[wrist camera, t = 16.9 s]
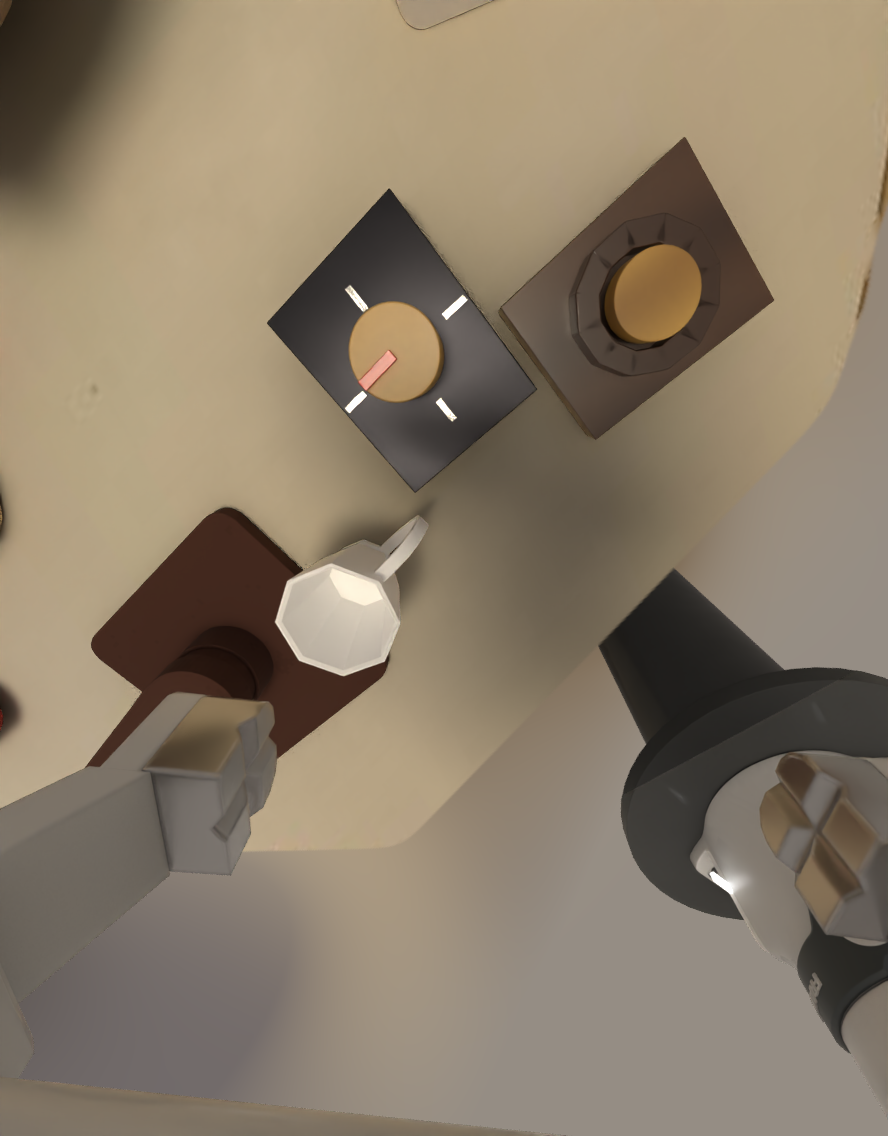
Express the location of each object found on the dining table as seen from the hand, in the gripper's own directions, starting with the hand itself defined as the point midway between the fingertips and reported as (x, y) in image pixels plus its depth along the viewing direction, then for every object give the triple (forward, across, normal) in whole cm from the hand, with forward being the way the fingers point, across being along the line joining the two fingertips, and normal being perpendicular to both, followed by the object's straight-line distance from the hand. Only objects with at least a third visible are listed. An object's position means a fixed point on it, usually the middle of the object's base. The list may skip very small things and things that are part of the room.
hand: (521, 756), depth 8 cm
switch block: (+25, -7, -10) cm, 28 cm away
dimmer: (+25, +5, -6) cm, 26 cm away
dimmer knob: (+22, +5, -6) cm, 23 cm away
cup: (+25, +6, +6) cm, 27 cm away
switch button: (+22, -7, -10) cm, 25 cm away
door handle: (+25, +18, +16) cm, 35 cm away
